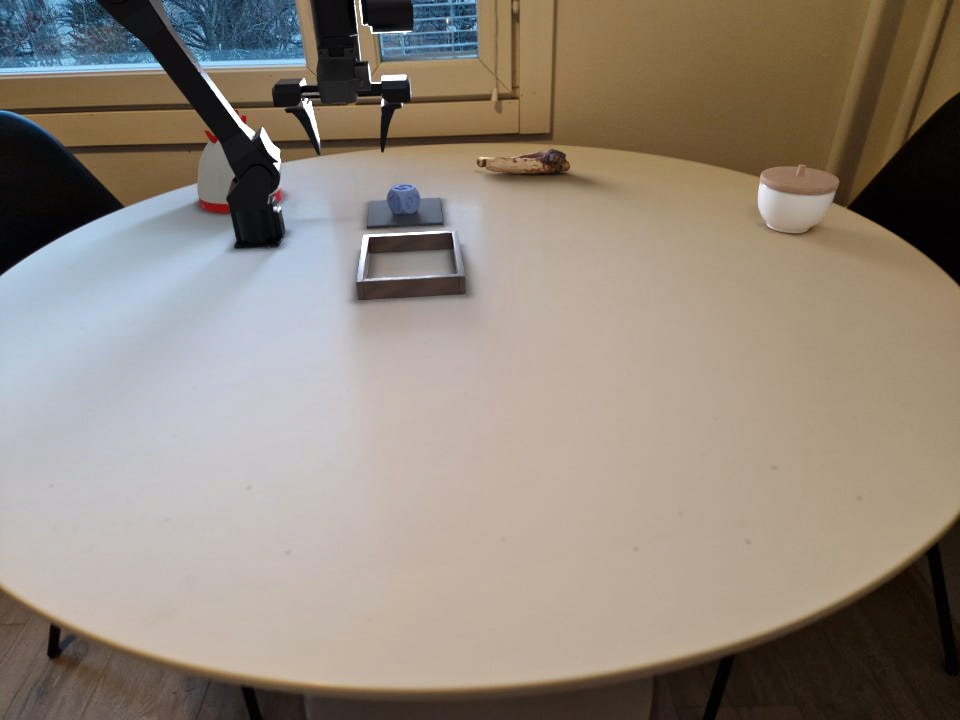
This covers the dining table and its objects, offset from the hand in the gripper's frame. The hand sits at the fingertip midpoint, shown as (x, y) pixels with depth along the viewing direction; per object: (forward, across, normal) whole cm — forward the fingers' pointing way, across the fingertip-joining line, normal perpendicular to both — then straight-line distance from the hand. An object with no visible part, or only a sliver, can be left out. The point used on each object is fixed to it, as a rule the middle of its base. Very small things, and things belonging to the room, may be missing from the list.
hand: (351, 153), depth 95 cm
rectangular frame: (+12, +8, -16) cm, 22 cm away
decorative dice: (+12, +7, +7) cm, 15 cm away
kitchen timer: (+12, -22, +18) cm, 31 cm away
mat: (+12, +7, +7) cm, 16 cm away
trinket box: (+12, +66, -7) cm, 67 cm away
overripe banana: (+12, +30, +28) cm, 43 cm away
